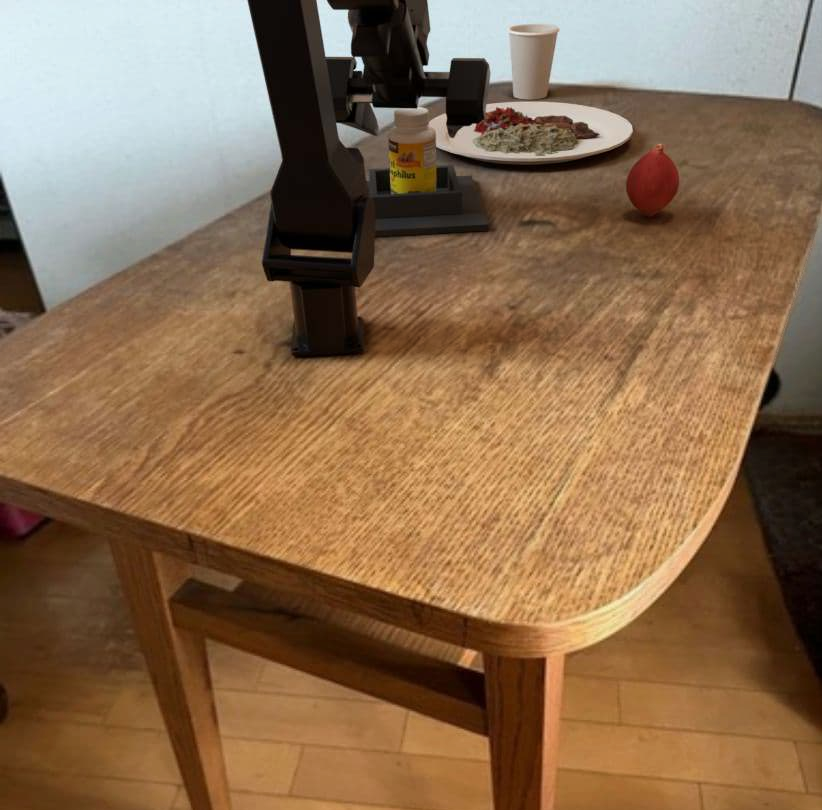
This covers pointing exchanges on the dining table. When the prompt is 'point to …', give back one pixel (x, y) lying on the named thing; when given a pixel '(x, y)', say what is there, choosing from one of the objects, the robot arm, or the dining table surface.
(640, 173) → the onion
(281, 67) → the robot arm
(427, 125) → the supplement bottle
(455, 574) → the dining table surface
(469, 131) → the plated food
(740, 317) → the dining table surface
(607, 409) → the dining table surface
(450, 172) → the dock pad
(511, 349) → the dining table surface
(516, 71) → the dixie cup
